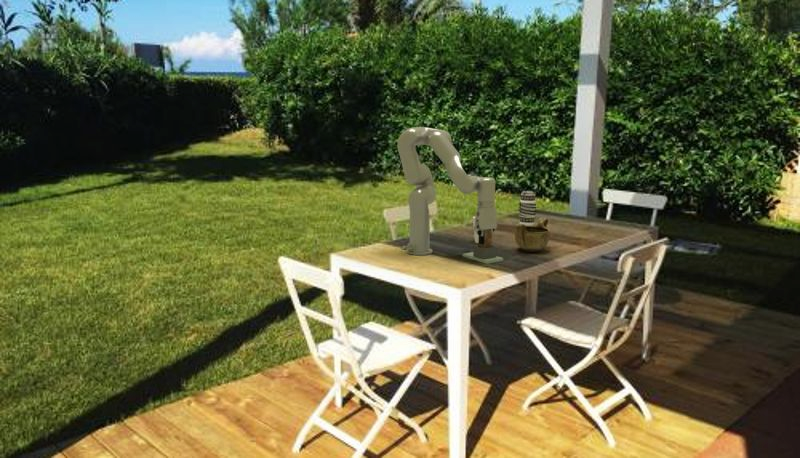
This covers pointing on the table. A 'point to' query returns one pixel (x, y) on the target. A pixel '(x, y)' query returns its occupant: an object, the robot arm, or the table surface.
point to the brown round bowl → (532, 236)
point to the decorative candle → (527, 208)
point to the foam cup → (475, 232)
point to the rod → (486, 239)
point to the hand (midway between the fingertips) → (485, 242)
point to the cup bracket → (484, 254)
